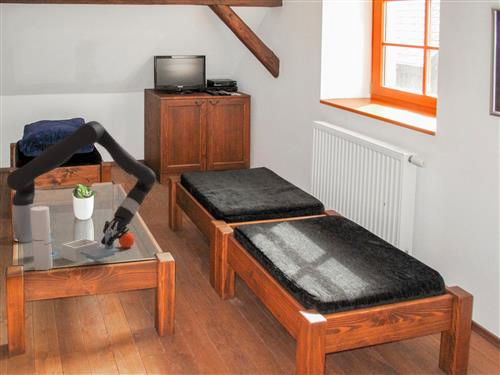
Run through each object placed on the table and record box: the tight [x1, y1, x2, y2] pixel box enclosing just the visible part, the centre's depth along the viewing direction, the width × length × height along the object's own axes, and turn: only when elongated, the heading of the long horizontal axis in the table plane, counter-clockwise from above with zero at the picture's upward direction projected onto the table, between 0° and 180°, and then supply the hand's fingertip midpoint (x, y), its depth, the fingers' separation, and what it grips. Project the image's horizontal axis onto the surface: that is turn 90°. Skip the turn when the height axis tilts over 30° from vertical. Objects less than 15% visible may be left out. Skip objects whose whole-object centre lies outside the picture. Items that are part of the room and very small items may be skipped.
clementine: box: [118, 231, 135, 249], centre depth 333 cm, size 8×7×7 cm
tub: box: [62, 237, 100, 263], centre depth 319 cm, size 12×9×6 cm
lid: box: [81, 232, 120, 261], centre depth 310 cm, size 12×9×8 cm
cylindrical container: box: [30, 205, 54, 271], centre depth 302 cm, size 7×7×25 cm
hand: (105, 244), depth 312 cm, fingers closed on lid, 3 cm apart
